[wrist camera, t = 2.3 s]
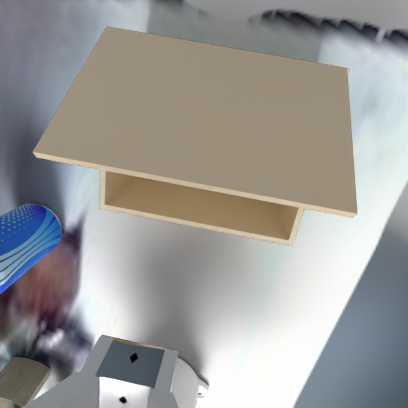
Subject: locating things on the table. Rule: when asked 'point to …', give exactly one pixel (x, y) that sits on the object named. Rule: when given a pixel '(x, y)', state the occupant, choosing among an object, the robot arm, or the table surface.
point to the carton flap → (210, 121)
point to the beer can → (25, 239)
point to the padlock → (21, 382)
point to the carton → (199, 207)
